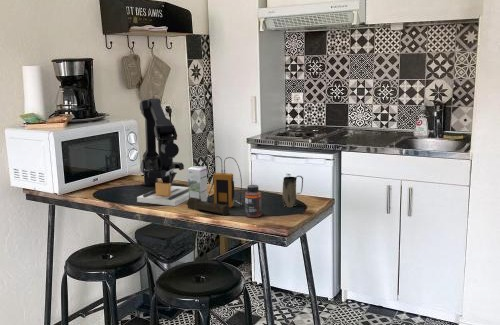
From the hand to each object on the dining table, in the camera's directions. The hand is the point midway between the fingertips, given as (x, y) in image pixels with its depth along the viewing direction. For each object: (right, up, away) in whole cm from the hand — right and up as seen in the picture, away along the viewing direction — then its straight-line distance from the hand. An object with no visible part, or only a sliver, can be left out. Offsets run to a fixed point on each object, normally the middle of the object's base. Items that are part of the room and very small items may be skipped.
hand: (167, 190), depth 211 cm
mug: (+51, -6, -12) cm, 53 cm away
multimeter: (+25, -5, -9) cm, 27 cm away
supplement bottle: (+36, -8, -25) cm, 44 cm away
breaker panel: (+1, -3, +3) cm, 4 cm away
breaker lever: (-1, -2, -2) cm, 3 cm away
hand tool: (+18, -8, -19) cm, 27 cm away
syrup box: (+13, -5, -6) cm, 15 cm away
